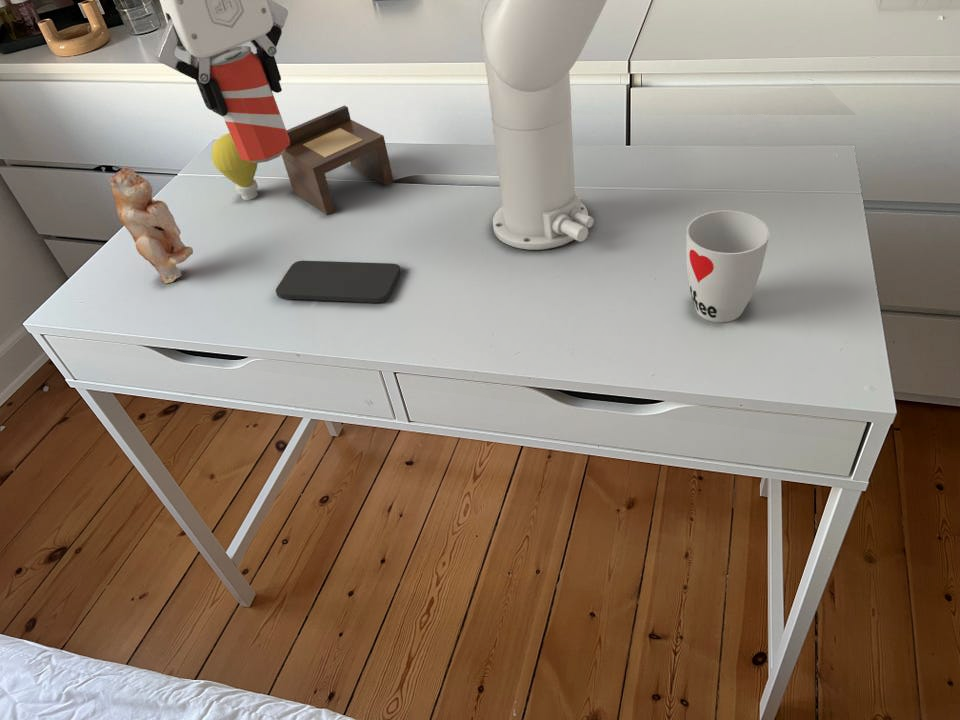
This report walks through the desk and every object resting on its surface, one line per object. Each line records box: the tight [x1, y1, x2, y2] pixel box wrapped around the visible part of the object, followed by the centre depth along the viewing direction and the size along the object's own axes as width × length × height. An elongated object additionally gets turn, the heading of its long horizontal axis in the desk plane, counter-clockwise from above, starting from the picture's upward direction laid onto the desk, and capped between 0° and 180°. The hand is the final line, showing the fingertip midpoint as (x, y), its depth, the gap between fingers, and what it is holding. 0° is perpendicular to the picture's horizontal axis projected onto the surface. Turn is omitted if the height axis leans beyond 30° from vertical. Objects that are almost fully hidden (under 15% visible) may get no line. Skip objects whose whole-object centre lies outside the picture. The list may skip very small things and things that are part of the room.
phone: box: [275, 260, 402, 304], centre depth 98 cm, size 7×1×15 cm
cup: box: [685, 209, 770, 323], centre depth 82 cm, size 8×8×10 cm
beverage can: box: [210, 45, 290, 164], centre depth 90 cm, size 6×6×12 cm
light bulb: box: [211, 132, 259, 201], centre depth 115 cm, size 7×7×10 cm
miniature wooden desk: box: [280, 105, 395, 216], centre depth 114 cm, size 10×12×10 cm
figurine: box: [108, 166, 194, 284], centre depth 100 cm, size 6×8×15 cm
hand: (246, 99), depth 89 cm, fingers closed on beverage can, 6 cm apart
